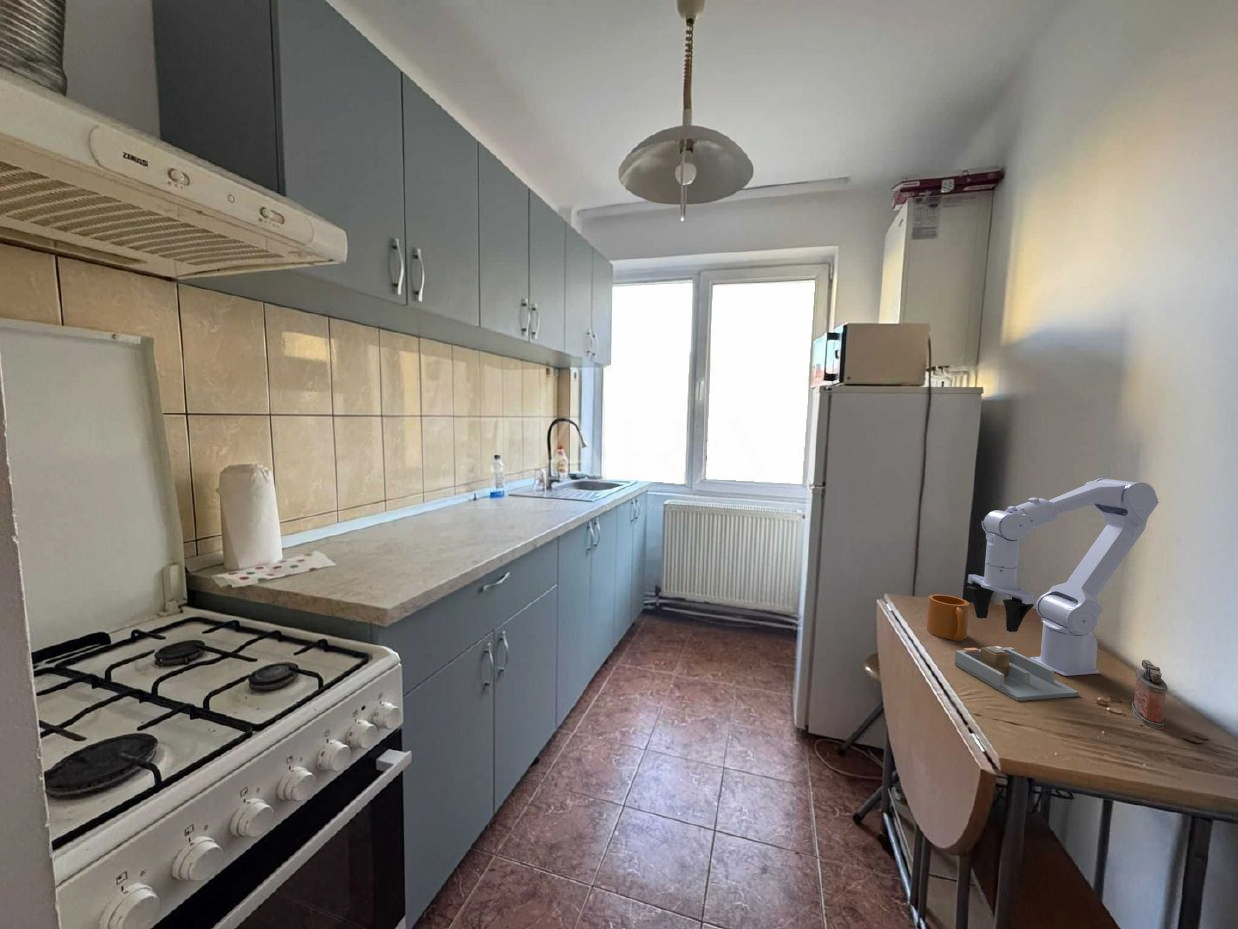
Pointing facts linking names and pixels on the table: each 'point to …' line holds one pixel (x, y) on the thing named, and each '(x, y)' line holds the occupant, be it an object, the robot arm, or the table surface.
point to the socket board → (1015, 676)
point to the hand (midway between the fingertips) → (996, 624)
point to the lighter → (1149, 695)
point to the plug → (995, 659)
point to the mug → (947, 617)
